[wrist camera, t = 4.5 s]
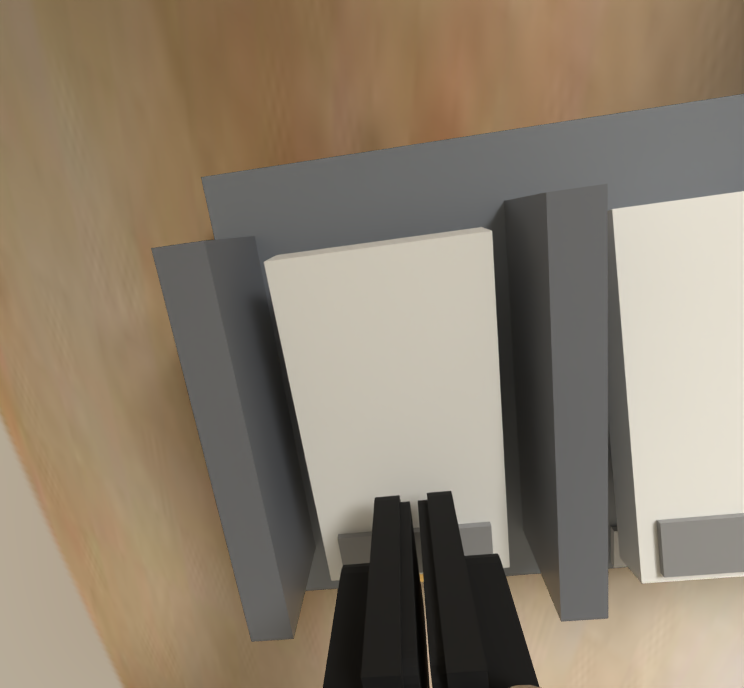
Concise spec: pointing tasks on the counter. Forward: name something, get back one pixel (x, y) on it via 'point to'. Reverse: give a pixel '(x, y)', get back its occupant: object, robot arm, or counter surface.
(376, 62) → the counter surface
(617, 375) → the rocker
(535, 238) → the switch panel
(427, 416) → the rocker
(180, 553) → the counter surface
